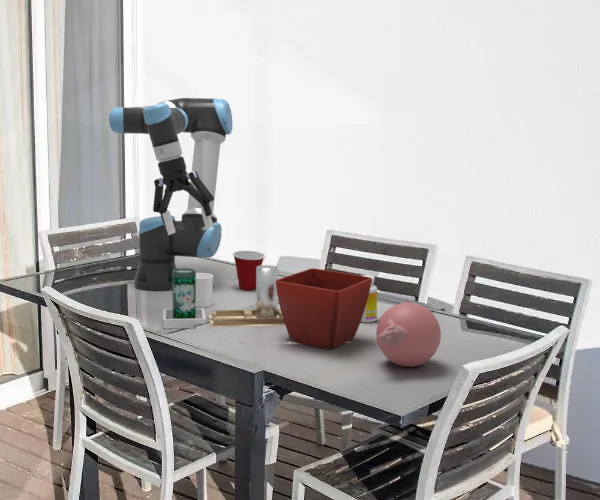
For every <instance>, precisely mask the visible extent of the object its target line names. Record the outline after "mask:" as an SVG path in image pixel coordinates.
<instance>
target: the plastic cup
mask: <svg viewBox="0 0 600 500" xmlns="http://www.w3.org/2000/svg"><path fill="white" fill-rule="evenodd" d="M232 256H233V259H234V263H235V270H236V275H237V282H238V287H239V289H240V290H242V291H256V267H257V266H261V265H263V262H264V260H265V258H266V255H265V253H263V252H261V251H255V250H237V251H234V252H232Z"/></svg>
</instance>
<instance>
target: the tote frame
mask: <svg viewBox="0 0 600 500" xmlns="http://www.w3.org/2000/svg"><path fill="white" fill-rule="evenodd" d="M162 309H163V311H162V329H164V328H166V329H167V330H168V329H169V328H172V329H196V328H197V325H206V323H207V322H206V321H207V319H206V312H205V308H204V307H196V315H197V314H200V315H201V318H195V319H173V308H162ZM166 329H164V330H166Z"/></svg>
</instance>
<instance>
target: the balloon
mask: <svg viewBox="0 0 600 500" xmlns="http://www.w3.org/2000/svg"><path fill="white" fill-rule="evenodd" d="M375 336H376V342H377V345H378V348H379V350H380V351H381V353H382V354H383V356H384V357H385V358H386V359H387V360H388V361H390V362H392V363H393V364H395V365H397V366H400V367H407V368H409V367H417V366H421V365H423V364H426V362H428V361H429V360H431V358H433V357H434V356H435V354H436V353H437V351H438V349H439V347H440V343H441V338H442V333H441V327H440V323H439V321H438V319H437V318H436V316H435V314H434V312H432V311H431V310H430V309H428V307H426V306H424V305H422V304H419V303H416V302H401V303H397V304H395V305H393V306H391V307H390V308H388V309H387V310H386V311H385V312H384V313H383V314H382V316H381V317H380V319H379V321H378V324H377V325H376V335H375Z"/></svg>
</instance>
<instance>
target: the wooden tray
mask: <svg viewBox="0 0 600 500" xmlns="http://www.w3.org/2000/svg"><path fill="white" fill-rule="evenodd" d="M208 319H209V325H210V328H219V327H220V328H221V327H222V328H227V327H228V328H230V327H268V326H269V327H271V326H272V327H273V326H276V327H277V326H281V327H282V326H283V327H284V326H286V325H285V322H284V319H283V316H282V312H281V308H279V309H278V308H277V318H256V309H231V310H230V309H226V310H225V309H224V310H223V309H222V310H220V309H219V310H215V309H214V310H211V313H210V314H208Z"/></svg>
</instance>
